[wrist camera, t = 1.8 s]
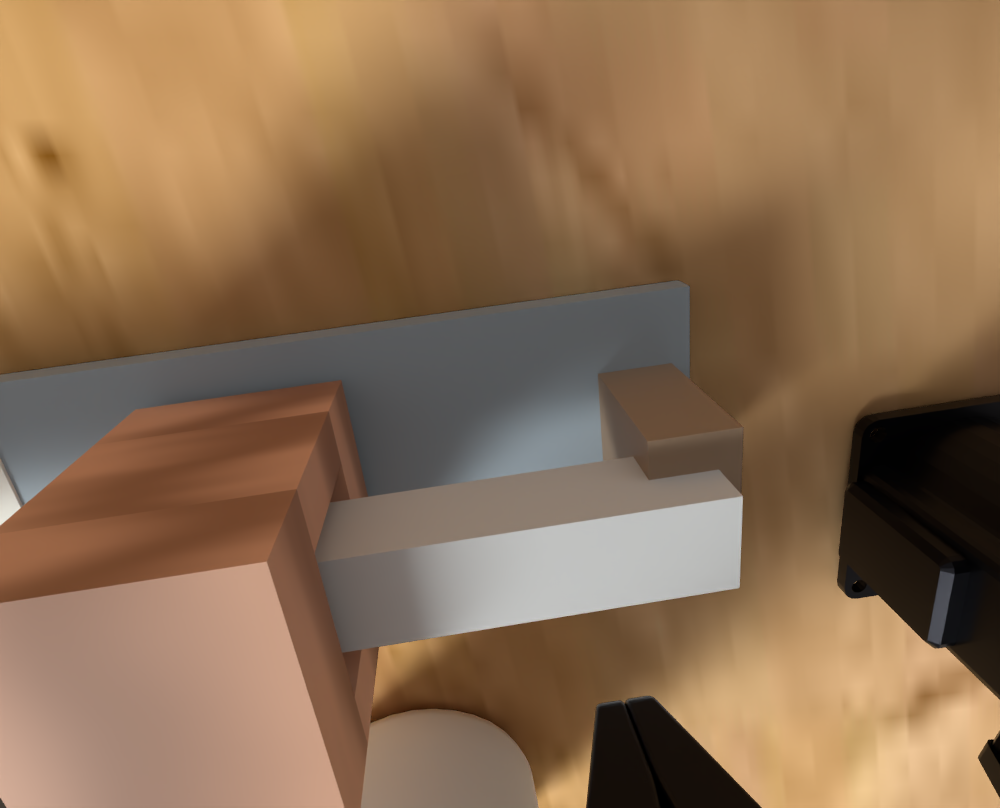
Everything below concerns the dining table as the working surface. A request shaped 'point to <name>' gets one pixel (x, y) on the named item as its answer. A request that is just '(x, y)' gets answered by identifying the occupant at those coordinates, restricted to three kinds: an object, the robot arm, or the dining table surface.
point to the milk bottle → (444, 763)
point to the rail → (463, 456)
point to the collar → (185, 616)
